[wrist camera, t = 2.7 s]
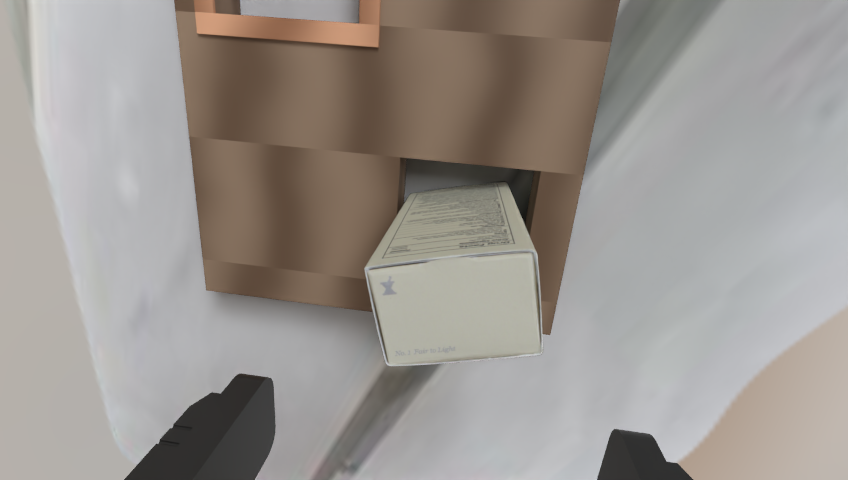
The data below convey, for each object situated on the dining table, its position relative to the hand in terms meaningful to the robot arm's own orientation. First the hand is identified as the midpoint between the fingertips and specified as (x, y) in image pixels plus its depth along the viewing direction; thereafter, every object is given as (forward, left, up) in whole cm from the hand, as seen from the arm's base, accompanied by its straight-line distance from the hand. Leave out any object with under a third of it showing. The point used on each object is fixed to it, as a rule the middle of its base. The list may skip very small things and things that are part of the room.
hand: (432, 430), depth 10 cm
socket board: (+5, -7, -18) cm, 20 cm away
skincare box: (0, 0, -18) cm, 18 cm away
